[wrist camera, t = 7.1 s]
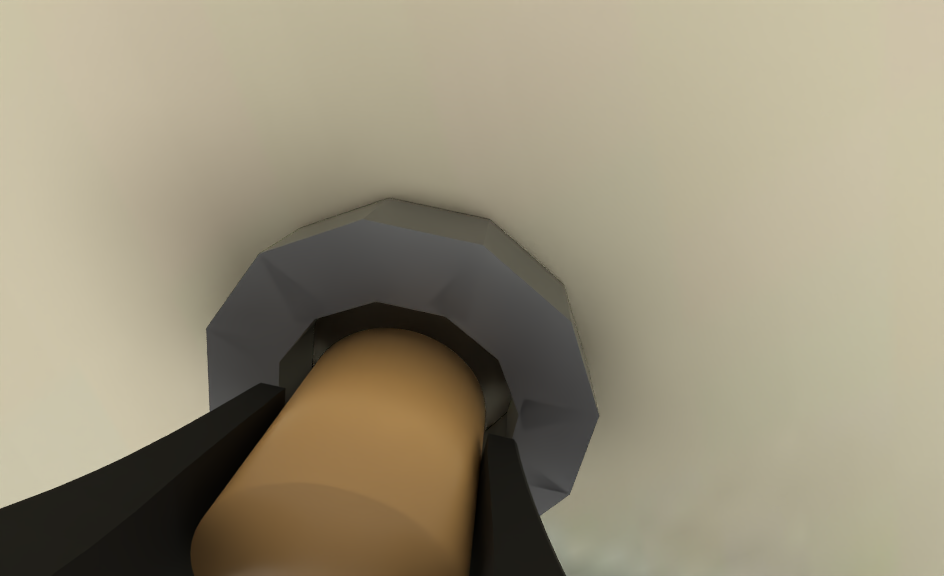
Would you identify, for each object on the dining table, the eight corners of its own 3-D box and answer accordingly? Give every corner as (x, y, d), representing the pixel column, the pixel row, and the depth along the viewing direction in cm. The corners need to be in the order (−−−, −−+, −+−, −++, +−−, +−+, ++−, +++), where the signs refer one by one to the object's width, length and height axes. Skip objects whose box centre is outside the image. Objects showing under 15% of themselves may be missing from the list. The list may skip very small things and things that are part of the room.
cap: (507, 356, 12) (499, 529, 7) (461, 493, 14) (433, 697, 9) (319, 306, 12) (190, 449, 7) (301, 451, 14) (189, 636, 9)
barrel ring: (628, 249, 12) (649, 281, 10) (535, 521, 16) (536, 582, 14) (253, 168, 12) (200, 184, 10) (252, 457, 16) (213, 508, 14)
